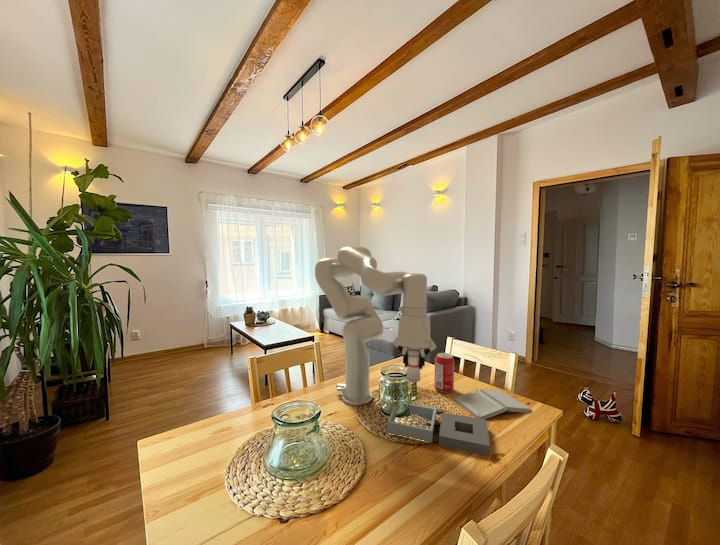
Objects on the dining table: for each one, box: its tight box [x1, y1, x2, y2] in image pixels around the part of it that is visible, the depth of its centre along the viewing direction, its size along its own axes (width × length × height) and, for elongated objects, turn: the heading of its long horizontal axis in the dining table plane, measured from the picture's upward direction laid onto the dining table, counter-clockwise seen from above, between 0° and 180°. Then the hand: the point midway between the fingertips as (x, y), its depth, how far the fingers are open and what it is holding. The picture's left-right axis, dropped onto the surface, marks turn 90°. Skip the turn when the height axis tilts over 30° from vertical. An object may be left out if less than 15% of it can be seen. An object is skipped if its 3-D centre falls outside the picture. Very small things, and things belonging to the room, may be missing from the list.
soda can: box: [433, 352, 455, 394], centre depth 125 cm, size 8×8×15 cm
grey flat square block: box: [438, 411, 491, 457], centre depth 93 cm, size 14×14×3 cm
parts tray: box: [386, 403, 437, 444], centre depth 98 cm, size 14×14×4 cm
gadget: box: [454, 388, 532, 420], centre depth 112 cm, size 23×15×4 cm, turn 106°
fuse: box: [406, 347, 421, 383], centre depth 97 cm, size 4×4×10 cm
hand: (413, 366), depth 97 cm, fingers closed on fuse, 4 cm apart
